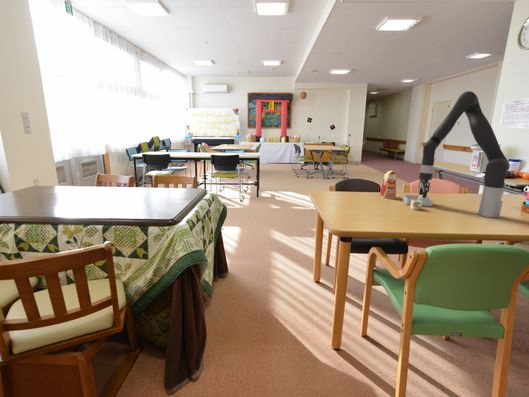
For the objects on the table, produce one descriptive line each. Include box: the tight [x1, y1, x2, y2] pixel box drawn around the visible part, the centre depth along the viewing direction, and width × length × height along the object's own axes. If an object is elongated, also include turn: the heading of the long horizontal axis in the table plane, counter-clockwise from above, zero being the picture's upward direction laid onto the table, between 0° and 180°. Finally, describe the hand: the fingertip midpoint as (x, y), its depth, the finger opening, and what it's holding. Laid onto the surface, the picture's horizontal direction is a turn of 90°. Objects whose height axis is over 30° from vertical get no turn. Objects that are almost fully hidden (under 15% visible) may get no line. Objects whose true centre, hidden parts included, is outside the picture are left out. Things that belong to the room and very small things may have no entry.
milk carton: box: [379, 170, 397, 200], centre depth 210 cm, size 9×9×20 cm
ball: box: [418, 195, 426, 200], centre depth 194 cm, size 5×5×5 cm
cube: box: [409, 200, 423, 211], centre depth 182 cm, size 5×5×5 cm
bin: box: [401, 194, 434, 208], centre depth 195 cm, size 15×13×4 cm
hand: (422, 196), depth 194 cm, fingers open, 8 cm apart
